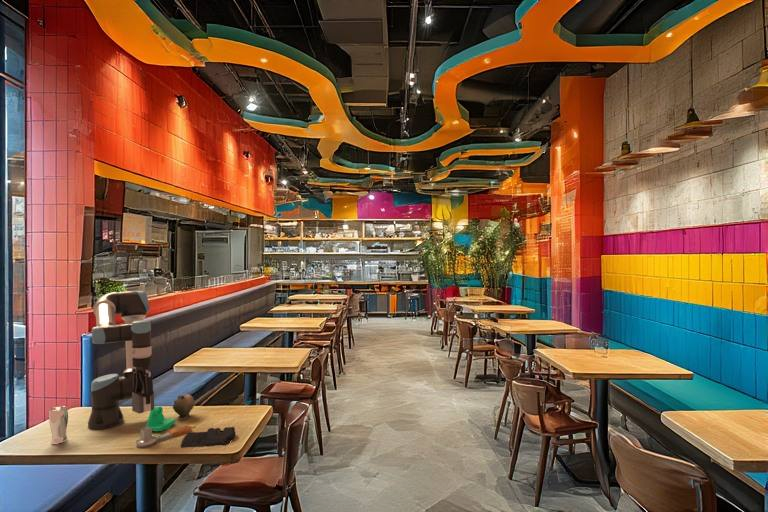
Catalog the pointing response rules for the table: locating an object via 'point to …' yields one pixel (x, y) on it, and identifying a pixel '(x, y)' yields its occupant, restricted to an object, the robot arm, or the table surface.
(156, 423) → the camera mount
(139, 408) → the brushed brown cube
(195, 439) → the dark slate chunk
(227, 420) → the table surface
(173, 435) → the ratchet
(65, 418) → the beer glass
